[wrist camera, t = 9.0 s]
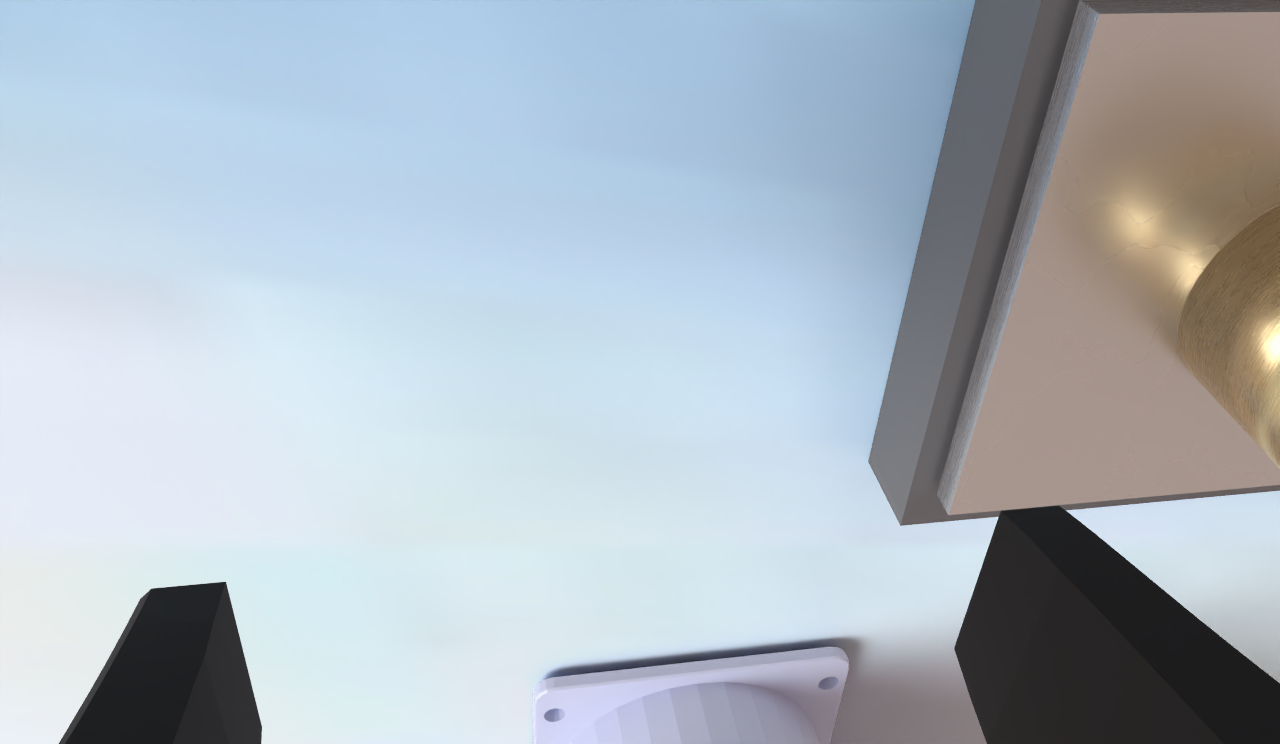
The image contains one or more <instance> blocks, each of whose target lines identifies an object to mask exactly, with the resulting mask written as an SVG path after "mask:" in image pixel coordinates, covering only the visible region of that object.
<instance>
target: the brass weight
mask: <svg viewBox="0 0 1280 744" xmlns="http://www.w3.org/2000/svg"><path fill="white" fill-rule="evenodd" d="M1178 347H1179V351H1180V355H1181V358H1182V360H1183V362H1184V364H1185V366H1186V367H1187V369H1188V370H1189V371H1190V373H1191V374H1192V375H1193V376H1194V377H1195V378H1196V379H1197V380H1198V381H1199V382H1200V384H1201V385H1202V386H1203V387H1204V388H1205V389H1206V390H1207V391H1208V392H1209V393H1210V394H1211V395H1212V396H1213V398H1214V399H1215V400H1216V401H1217V402H1218V403H1219V404H1220V405H1221V406H1222V407H1223V408H1224V409H1225V410H1226V412H1227V413H1228V414H1229V415H1230V416H1231V417H1232V418H1233V419H1234V420H1235V421H1236V422H1237V423H1238V424H1239V426H1240V427H1241V428H1242V429H1243V430H1244V431H1245V432H1246V433H1247V434H1248V435H1249V436H1250V437H1251V438H1252V440H1253V441H1254V442H1255V443H1256V444H1257V445H1258V446H1259V447H1260V448H1261V449H1262V450H1263V451H1264V452H1265V454H1266V455H1267V456H1268V457H1269V458H1270V459H1271V460H1272V461H1273V462H1274V463H1275V464H1276V465H1277V466H1278V468H1279V469H1280V206H1278V207H1276V208H1274V209H1272V210H1270V211H1269V212H1267V213H1265V214H1264V215H1262V216H1261V217H1259V218H1257V219H1256V220H1255V221H1253V222H1252V223H1251V224H1249V225H1248V226H1247V227H1245V228H1244V229H1242V230H1241V231H1240V232H1239V233H1238V234H1237V235H1236V236H1234V237H1233V238H1232V239H1231V240H1230V241H1229V242H1228V243H1227V244H1226V245H1225V246H1224V247H1223V248H1222V249H1221V250H1220V251H1219V252H1218V253H1217V254H1216V255H1215V256H1214V257H1213V259H1212V260H1211V261H1210V262H1209V264H1208V265H1207V266H1206V267H1205V268H1204V270H1203V271H1202V273H1201V274H1200V276H1199V277H1198V279H1197V280H1196V282H1195V284H1194V286H1193V287H1192V289H1191V291H1190V293H1189V295H1188V297H1187V299H1186V302H1185V304H1184V307H1183V310H1182V313H1181V317H1180V321H1179V328H1178Z"/></svg>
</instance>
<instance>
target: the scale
mask: <svg viewBox="0 0 1280 744" xmlns="http://www.w3.org/2000/svg"><path fill="white" fill-rule="evenodd" d="M1078 3H1079V0H976V1H975V6H974V10H973V14H972V19H971V23H970V27H969V32H968V36H967V40H966V44H965V49H964V53H963V57H962V62H961V66H960V70H959V75H958V79H957V83H956V87H955V92H954V96H953V100H952V105H951V109H950V113H949V118H948V122H947V126H946V130H945V135H944V139H943V143H942V148H941V152H940V156H939V161H938V165H937V169H936V173H935V178H934V182H933V186H932V191H931V195H930V199H929V204H928V208H927V212H926V216H925V221H924V225H923V229H922V234H921V238H920V242H919V246H918V251H917V255H916V259H915V264H914V268H913V272H912V277H911V281H910V285H909V289H908V294H907V298H906V302H905V307H904V311H903V315H902V320H901V324H900V328H899V332H898V337H897V341H896V345H895V350H894V354H893V358H892V363H891V367H890V371H889V375H888V380H887V384H886V388H885V393H884V397H883V401H882V406H881V410H880V414H879V418H878V423H877V427H876V431H875V436H874V440H873V444H872V449H871V453H870V457H869V461H868V462H869V464H870V466H871V468H872V470H873V472H874V474H875V476H876V478H877V480H878V482H879V484H880V486H881V488H882V490H883V492H884V494H885V496H886V498H887V500H888V502H889V504H890V506H891V508H892V509H893V511H894V513H895V515H896V517H897V519H898V521H899V523H900V525H912V524H923V523H934V522H944V521H955V520H966V519H977V518H987V517H998V516H999V515H1000V512H1001V511H1004V510H1000V511H989V512H978V513H967V514H956V515H948V514H947V512H946V510H945V508H944V506H943V505H942V503H941V501H940V499H939V497H938V496H937V492H938V488H939V485H940V481H941V478H942V475H943V471H944V468H945V464H946V461H947V457H948V454H949V450H950V447H951V443H952V440H953V436H954V433H955V429H956V426H957V422H958V419H959V416H960V412H961V409H962V405H963V402H964V398H965V395H966V391H967V388H968V384H969V381H970V377H971V374H972V370H973V367H974V363H975V360H976V357H977V353H978V350H979V346H980V343H981V339H982V336H983V332H984V329H985V325H986V322H987V318H988V315H989V311H990V308H991V304H992V301H993V298H994V294H995V291H996V287H997V284H998V280H999V277H1000V273H1001V270H1002V266H1003V263H1004V259H1005V256H1006V252H1007V249H1008V245H1009V242H1010V239H1011V235H1012V232H1013V228H1014V225H1015V221H1016V218H1017V214H1018V211H1019V207H1020V204H1021V200H1022V197H1023V193H1024V190H1025V186H1026V183H1027V180H1028V176H1029V173H1030V169H1031V166H1032V162H1033V159H1034V155H1035V152H1036V148H1037V145H1038V141H1039V138H1040V134H1041V131H1042V128H1043V124H1044V121H1045V117H1046V114H1047V110H1048V107H1049V103H1050V100H1051V96H1052V93H1053V89H1054V86H1055V82H1056V79H1057V75H1058V72H1059V69H1060V65H1061V62H1062V58H1063V55H1064V51H1065V48H1066V44H1067V41H1068V37H1069V34H1070V30H1071V27H1072V23H1073V20H1074V16H1075V13H1076V10H1077V6H1078ZM1279 490H1280V485H1272V486H1261V487H1251V488H1240V489H1229V490H1218V491H1207V492H1196V493H1185V494H1174V495H1163V496H1152V497H1142V498H1131V499H1120V500H1109V501H1098V502H1087V503H1076V504H1065V505H1059V506H1060V507H1062V508H1063V509H1064V510H1074V509H1085V508H1095V507H1106V506H1117V505H1128V504H1139V503H1149V502H1160V501H1171V500H1182V499H1193V498H1203V497H1214V496H1225V495H1236V494H1247V493H1257V492H1268V491H1279ZM1054 506H1058V505H1054ZM1043 507H1047V506H1043ZM1032 508H1036V507H1032ZM1022 509H1026V508H1022ZM1011 510H1015V509H1011Z"/></svg>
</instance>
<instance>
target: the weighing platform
mask: <svg viewBox="0 0 1280 744" xmlns="http://www.w3.org/2000/svg"><path fill="white" fill-rule="evenodd" d="M1278 206H1280V0H1079V3H1078V6H1077V10H1076V13H1075V16H1074V20H1073V23H1072V27H1071V30H1070V34H1069V37H1068V41H1067V44H1066V48H1065V51H1064V55H1063V58H1062V62H1061V65H1060V69H1059V72H1058V75H1057V79H1056V82H1055V86H1054V89H1053V93H1052V96H1051V100H1050V103H1049V107H1048V110H1047V114H1046V117H1045V121H1044V124H1043V128H1042V131H1041V134H1040V138H1039V141H1038V145H1037V148H1036V152H1035V155H1034V159H1033V162H1032V166H1031V169H1030V173H1029V176H1028V180H1027V183H1026V186H1025V190H1024V193H1023V197H1022V200H1021V204H1020V207H1019V211H1018V214H1017V218H1016V221H1015V225H1014V228H1013V232H1012V235H1011V239H1010V242H1009V245H1008V249H1007V252H1006V256H1005V259H1004V263H1003V266H1002V270H1001V273H1000V277H999V280H998V284H997V287H996V291H995V294H994V298H993V301H992V304H991V308H990V311H989V315H988V318H987V322H986V325H985V329H984V332H983V336H982V339H981V343H980V346H979V350H978V353H977V357H976V360H975V363H974V367H973V370H972V374H971V377H970V381H969V384H968V388H967V391H966V395H965V398H964V402H963V405H962V409H961V412H960V416H959V419H958V422H957V426H956V429H955V433H954V436H953V440H952V443H951V447H950V450H949V454H948V457H947V461H946V464H945V468H944V471H943V475H942V478H941V481H940V485H939V488H938V492H937V496H938V497H939V499H940V501H941V503H942V505H943V506H944V508H945V510H946V512H947V514H948V515H956V514H967V513H978V512H989V511H1000V510H1011V509H1022V508H1032V507H1043V506H1054V505H1065V504H1076V503H1087V502H1098V501H1109V500H1120V499H1131V498H1142V497H1152V496H1163V495H1174V494H1185V493H1196V492H1207V491H1218V490H1229V489H1240V488H1251V487H1261V486H1272V485H1280V469H1279V468H1278V466H1277V465H1276V464H1275V463H1274V462H1273V461H1272V460H1271V459H1270V458H1269V457H1268V456H1267V455H1266V454H1265V452H1264V451H1263V450H1262V449H1261V448H1260V447H1259V446H1258V445H1257V444H1256V443H1255V442H1254V441H1253V440H1252V438H1251V437H1250V436H1249V435H1248V434H1247V433H1246V432H1245V431H1244V430H1243V429H1242V428H1241V427H1240V426H1239V424H1238V423H1237V422H1236V421H1235V420H1234V419H1233V418H1232V417H1231V416H1230V415H1229V414H1228V413H1227V412H1226V410H1225V409H1224V408H1223V407H1222V406H1221V405H1220V404H1219V403H1218V402H1217V401H1216V400H1215V399H1214V398H1213V396H1212V395H1211V394H1210V393H1209V392H1208V391H1207V390H1206V389H1205V388H1204V387H1203V386H1202V385H1201V384H1200V382H1199V381H1198V380H1197V379H1196V378H1195V377H1194V376H1193V375H1192V374H1191V373H1190V371H1189V370H1188V369H1187V367H1186V366H1185V364H1184V362H1183V360H1182V358H1181V355H1180V351H1179V347H1178V328H1179V321H1180V317H1181V313H1182V310H1183V307H1184V304H1185V302H1186V299H1187V297H1188V295H1189V293H1190V291H1191V289H1192V287H1193V286H1194V284H1195V282H1196V280H1197V279H1198V277H1199V276H1200V274H1201V273H1202V271H1203V270H1204V268H1205V267H1206V266H1207V265H1208V264H1209V262H1210V261H1211V260H1212V259H1213V257H1214V256H1215V255H1216V254H1217V253H1218V252H1219V251H1220V250H1221V249H1222V248H1223V247H1224V246H1225V245H1226V244H1227V243H1228V242H1229V241H1230V240H1231V239H1232V238H1233V237H1234V236H1236V235H1237V234H1238V233H1239V232H1240V231H1241V230H1242V229H1244V228H1245V227H1247V226H1248V225H1249V224H1251V223H1252V222H1253V221H1255V220H1256V219H1257V218H1259V217H1261V216H1262V215H1264V214H1265V213H1267V212H1269V211H1270V210H1272V209H1274V208H1276V207H1278Z"/></svg>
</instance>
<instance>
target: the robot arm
mask: <svg viewBox="0 0 1280 744" xmlns="http://www.w3.org/2000/svg"><path fill="white" fill-rule="evenodd" d="M954 649H955V652H956V655H957V658H958V661H959V664H960V667H961V670H962V673H963V676H964V679H965V682H966V685H967V688H968V692H969V695H970V698H971V701H972V703H973V706H974V709H975V712H976V714H977V717H978V720H979V723H980V725H981V728H982V731H983V734H984V736H985V739H986V742H987V744H1280V683H1278V682H1277V681H1276V680H1275V679H1273V678H1272V677H1271V676H1269V675H1268V674H1267V673H1266V672H1264V671H1263V670H1262V669H1260V668H1259V667H1258V666H1257V665H1255V664H1254V663H1253V662H1252V661H1250V660H1249V659H1248V658H1247V657H1245V656H1244V655H1243V654H1241V653H1240V652H1239V651H1238V650H1236V649H1235V648H1234V647H1233V646H1231V645H1230V644H1229V643H1228V642H1226V641H1225V640H1224V639H1223V638H1221V637H1220V636H1219V635H1218V634H1216V633H1215V632H1214V631H1213V630H1212V629H1210V628H1209V627H1208V626H1207V625H1205V624H1204V623H1203V622H1202V621H1200V620H1199V619H1198V618H1197V617H1195V616H1194V615H1193V614H1192V613H1191V612H1189V611H1188V610H1187V609H1186V608H1184V607H1183V606H1182V605H1181V604H1180V603H1178V602H1177V601H1176V600H1175V599H1174V598H1172V597H1171V596H1170V595H1169V594H1167V593H1166V592H1165V591H1164V590H1163V589H1161V588H1160V587H1159V586H1158V585H1157V584H1155V583H1154V582H1153V581H1152V580H1150V579H1149V578H1148V577H1147V576H1146V575H1144V574H1143V573H1142V572H1141V571H1140V570H1138V569H1137V568H1136V567H1135V566H1134V565H1132V564H1131V563H1130V562H1129V561H1127V560H1126V559H1125V558H1124V557H1123V556H1121V555H1120V554H1119V553H1118V552H1117V551H1115V550H1114V549H1113V548H1112V547H1110V546H1109V545H1108V544H1107V543H1106V542H1104V541H1103V540H1102V539H1101V538H1099V537H1098V536H1097V535H1096V534H1095V533H1093V532H1092V531H1091V530H1090V529H1088V528H1087V527H1086V526H1085V525H1083V524H1082V523H1081V522H1080V521H1078V520H1077V519H1076V518H1074V517H1073V516H1072V515H1071V514H1069V513H1068V512H1067V511H1065V510H1064V509H1063V508H1062V507H1060V506H1059V505H1058V506H1047V507H1036V508H1026V509H1015V510H1004V511H1001V512H1000V515H999V518H998V521H997V524H996V527H995V530H994V533H993V536H992V539H991V542H990V544H989V547H988V550H987V553H986V556H985V559H984V562H983V565H982V568H981V571H980V574H979V577H978V580H977V583H976V586H975V589H974V592H973V595H972V598H971V600H970V603H969V606H968V609H967V612H966V615H965V618H964V621H963V624H962V627H961V630H960V633H959V636H958V639H957V642H956V645H955V648H954ZM849 668H850V663H849V660H848V657H847V655H846V653H845V651H844V650H843V649H841V648H838V647H821V648H812V649H803V650H794V651H785V652H776V653H767V654H758V655H749V656H740V657H731V658H722V659H713V660H704V661H695V662H686V663H677V664H668V665H659V666H650V667H641V668H632V669H623V670H614V671H605V672H596V673H587V674H578V675H569V676H560V677H552V678H548V679H545V680H543V681H541V682H539V683H538V684H537V685H536V686H535V687H534V690H533V744H830V742H831V738H832V734H833V730H834V726H835V722H836V718H837V714H838V710H839V707H840V703H841V699H842V695H843V691H844V687H845V683H846V679H847V675H848V672H849ZM261 733H262V726H261V722H260V718H259V714H258V710H257V706H256V702H255V698H254V693H253V689H252V685H251V681H250V677H249V673H248V669H247V665H246V661H245V657H244V653H243V649H242V645H241V641H240V637H239V633H238V629H237V625H236V621H235V617H234V613H233V609H232V605H231V601H230V597H229V593H228V589H227V585H226V582H219V583H208V584H198V585H187V586H176V587H165V588H154V589H151V590H150V591H149V592H148V593H146V594H145V595H144V596H143V597H142V598H141V599H140V601H139V603H138V605H137V606H136V608H135V610H134V612H133V614H132V616H131V618H130V620H129V622H128V624H127V626H126V627H125V629H124V631H123V633H122V635H121V637H120V639H119V640H118V642H117V644H116V646H115V648H114V650H113V651H112V653H111V655H110V657H109V659H108V660H107V662H106V664H105V666H104V668H103V669H102V671H101V673H100V675H99V676H98V678H97V680H96V682H95V683H94V685H93V687H92V689H91V690H90V692H89V694H88V696H87V697H86V699H85V701H84V702H83V704H82V706H81V707H80V709H79V711H78V712H77V714H76V716H75V717H74V719H73V721H72V722H71V724H70V726H69V728H68V729H67V731H66V733H65V734H64V736H63V738H62V739H61V741H60V743H59V744H261Z"/></svg>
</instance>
